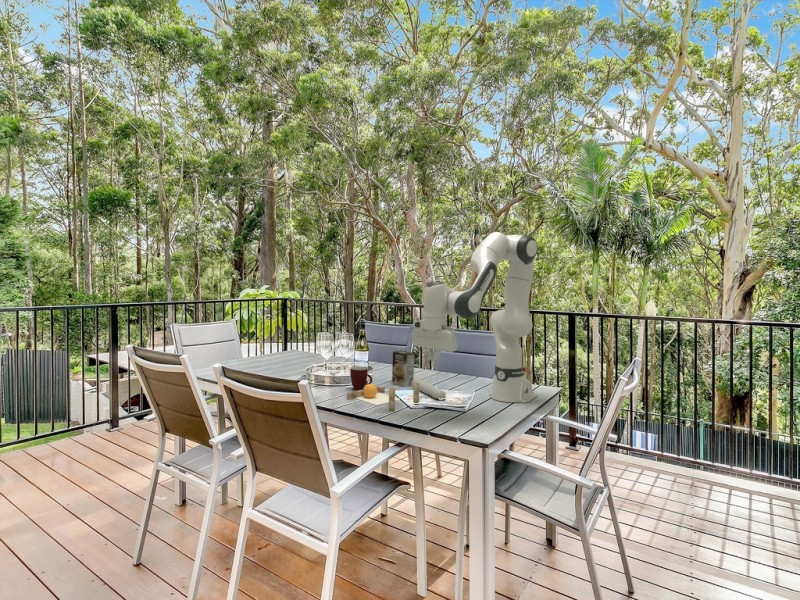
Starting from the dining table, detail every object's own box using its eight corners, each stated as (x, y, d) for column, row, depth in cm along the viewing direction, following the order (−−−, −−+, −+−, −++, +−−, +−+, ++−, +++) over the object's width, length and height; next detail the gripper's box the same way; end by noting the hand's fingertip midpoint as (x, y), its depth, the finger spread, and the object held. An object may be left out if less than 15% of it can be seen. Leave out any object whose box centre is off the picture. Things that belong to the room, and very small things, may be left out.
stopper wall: (381, 391, 212) (381, 385, 212) (384, 392, 211) (384, 386, 210) (346, 398, 198) (347, 392, 198) (349, 399, 197) (349, 393, 197)
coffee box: (391, 384, 226) (392, 351, 225) (399, 381, 231) (400, 350, 230) (405, 387, 220) (406, 353, 219) (414, 385, 225) (414, 352, 224)
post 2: (416, 402, 194) (416, 381, 193) (420, 404, 192) (420, 382, 191) (412, 403, 192) (412, 382, 191) (416, 405, 190) (416, 383, 190)
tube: (449, 392, 198) (422, 379, 221) (439, 389, 196) (413, 376, 219) (446, 404, 198) (419, 389, 220) (435, 401, 196) (409, 387, 218)
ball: (378, 398, 202) (369, 391, 205) (381, 386, 199) (372, 379, 203) (368, 402, 197) (359, 395, 201) (370, 390, 195) (361, 383, 199)
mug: (374, 388, 217) (374, 367, 216) (370, 392, 209) (370, 370, 208) (352, 386, 219) (353, 366, 218) (347, 391, 211) (348, 369, 210)
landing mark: (379, 393, 208) (379, 392, 208) (401, 399, 198) (401, 399, 198) (355, 398, 199) (355, 397, 199) (376, 405, 189) (376, 405, 189)
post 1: (391, 409, 184) (392, 386, 183) (396, 410, 182) (396, 388, 182) (387, 410, 182) (387, 387, 182) (391, 411, 181) (391, 389, 180)
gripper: (461, 326, 171) (460, 363, 172) (421, 321, 186) (420, 355, 186) (450, 327, 166) (449, 365, 167) (410, 322, 181) (409, 357, 182)
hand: (433, 360), depth 177 cm, fingers closed
